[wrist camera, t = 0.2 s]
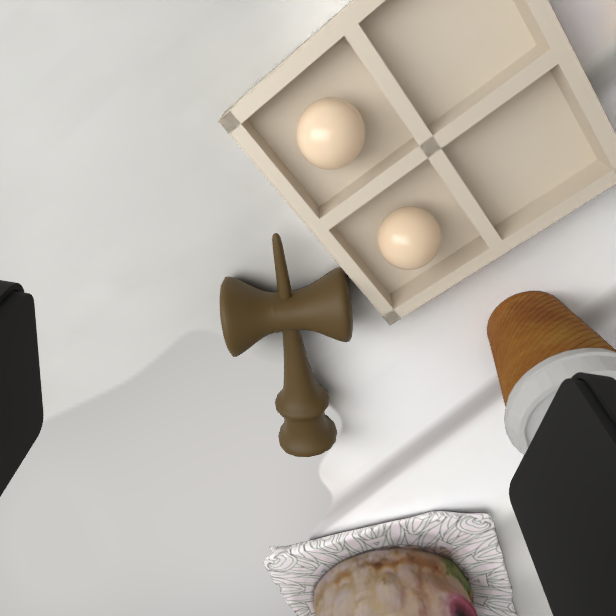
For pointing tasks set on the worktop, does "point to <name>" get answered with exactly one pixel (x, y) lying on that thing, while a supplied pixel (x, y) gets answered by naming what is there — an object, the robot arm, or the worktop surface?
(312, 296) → the kendama
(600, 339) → the disposable coffee cup
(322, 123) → the cream ball
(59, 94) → the worktop surface
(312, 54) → the beige compartment tray
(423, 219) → the cream round piece
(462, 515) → the cookie jar
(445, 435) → the worktop surface
